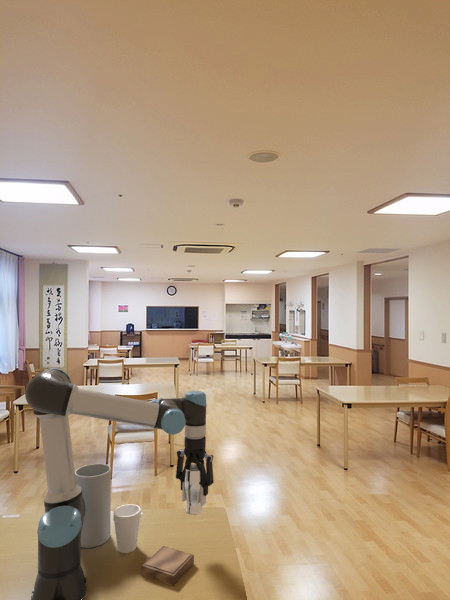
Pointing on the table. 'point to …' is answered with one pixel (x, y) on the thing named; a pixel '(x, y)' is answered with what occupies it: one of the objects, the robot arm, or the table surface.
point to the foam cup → (127, 526)
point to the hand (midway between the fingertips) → (194, 501)
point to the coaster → (168, 565)
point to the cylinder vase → (95, 503)
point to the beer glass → (193, 490)
